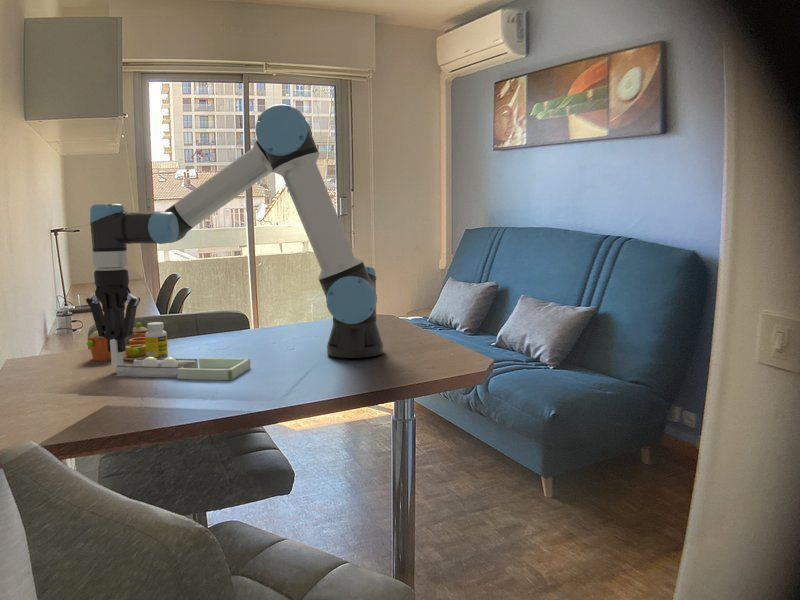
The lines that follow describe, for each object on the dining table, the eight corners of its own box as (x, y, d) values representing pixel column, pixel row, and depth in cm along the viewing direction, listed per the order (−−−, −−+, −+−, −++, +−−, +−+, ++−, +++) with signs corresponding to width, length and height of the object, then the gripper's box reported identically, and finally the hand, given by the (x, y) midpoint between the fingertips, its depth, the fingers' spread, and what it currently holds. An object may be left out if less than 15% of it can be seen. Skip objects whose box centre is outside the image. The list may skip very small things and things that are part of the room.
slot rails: (198, 368, 157) (197, 358, 156) (180, 377, 148) (180, 367, 148) (137, 367, 159) (137, 357, 159) (117, 376, 150) (116, 365, 150)
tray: (250, 368, 156) (250, 358, 156) (231, 380, 145) (230, 370, 144) (200, 367, 158) (200, 357, 158) (177, 379, 146) (177, 369, 146)
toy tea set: (149, 361, 167) (147, 325, 166) (85, 365, 163) (82, 329, 162) (160, 343, 192) (158, 312, 191) (104, 346, 188) (102, 314, 187)
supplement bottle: (160, 362, 165) (158, 325, 164) (142, 361, 166) (139, 324, 165) (172, 357, 170) (170, 321, 169) (153, 357, 171) (151, 321, 170)
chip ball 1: (162, 370, 155) (161, 355, 155) (154, 374, 152) (153, 358, 151) (147, 370, 156) (146, 355, 155) (139, 373, 152) (138, 358, 152)
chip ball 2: (181, 370, 155) (180, 355, 154) (173, 374, 151) (172, 359, 150) (166, 370, 155) (165, 355, 155) (158, 374, 151) (157, 358, 151)
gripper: (144, 267, 155) (150, 362, 157) (95, 267, 156) (102, 361, 159) (127, 270, 147) (134, 369, 150) (76, 270, 149) (83, 368, 152)
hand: (117, 365), depth 155 cm, fingers closed
